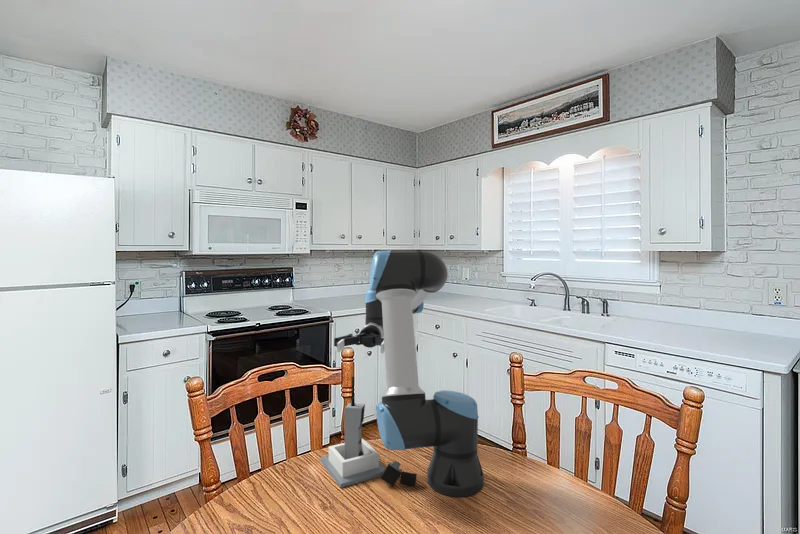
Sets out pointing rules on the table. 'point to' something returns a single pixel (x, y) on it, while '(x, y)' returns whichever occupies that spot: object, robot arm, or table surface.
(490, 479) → the table surface
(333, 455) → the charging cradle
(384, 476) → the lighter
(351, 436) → the vintage mobile phone
